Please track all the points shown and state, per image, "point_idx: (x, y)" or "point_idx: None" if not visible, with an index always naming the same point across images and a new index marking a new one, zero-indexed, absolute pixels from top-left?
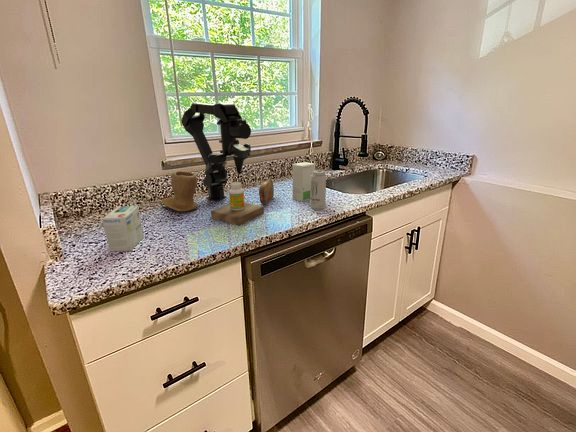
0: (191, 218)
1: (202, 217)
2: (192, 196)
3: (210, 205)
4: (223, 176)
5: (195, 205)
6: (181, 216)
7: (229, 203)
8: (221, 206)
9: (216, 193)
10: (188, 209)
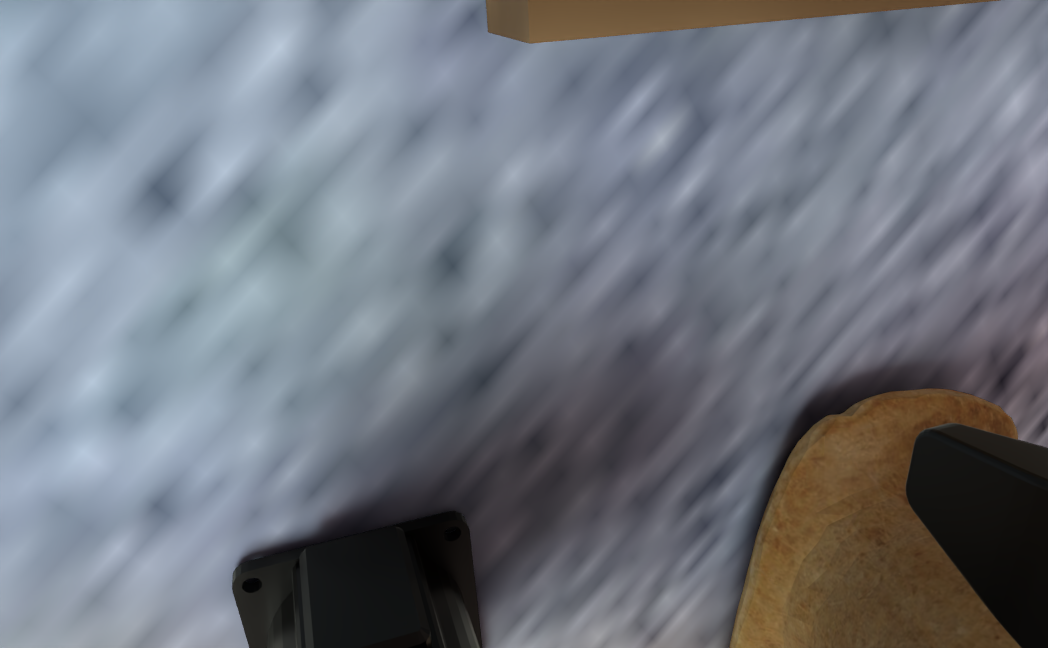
0: (1039, 200)
1: (987, 121)
2: (930, 542)
3: (626, 418)
4: (1039, 468)
5: (860, 431)
6: (1016, 335)
7: (722, 9)
8: (897, 3)
9: (440, 620)
10: (948, 393)
